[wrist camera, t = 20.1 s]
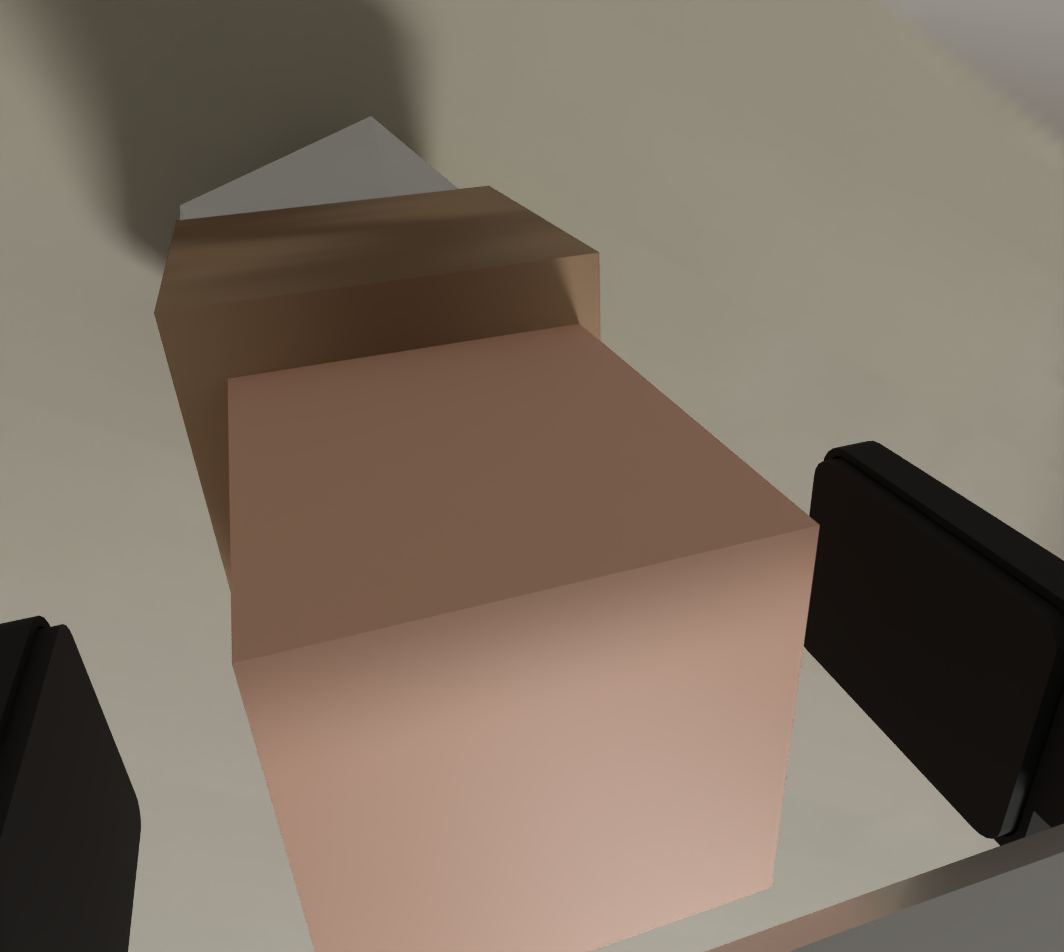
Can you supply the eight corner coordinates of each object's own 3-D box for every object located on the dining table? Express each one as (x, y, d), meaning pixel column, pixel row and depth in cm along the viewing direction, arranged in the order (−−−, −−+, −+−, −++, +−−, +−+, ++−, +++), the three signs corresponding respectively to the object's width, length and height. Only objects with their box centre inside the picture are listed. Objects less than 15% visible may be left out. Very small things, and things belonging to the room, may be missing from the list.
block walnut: (246, 500, 19) (253, 676, 14) (176, 220, 16) (153, 312, 11) (508, 449, 20) (603, 592, 15) (488, 185, 17) (599, 252, 12)
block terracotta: (296, 666, 14) (339, 1038, 9) (227, 378, 11) (232, 662, 6) (585, 596, 15) (771, 887, 10) (580, 323, 13) (819, 524, 8)
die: (161, 391, 25) (357, 620, 22) (35, 138, 18) (298, 421, 14) (384, 266, 28) (585, 448, 25) (353, 10, 21) (631, 216, 18)
